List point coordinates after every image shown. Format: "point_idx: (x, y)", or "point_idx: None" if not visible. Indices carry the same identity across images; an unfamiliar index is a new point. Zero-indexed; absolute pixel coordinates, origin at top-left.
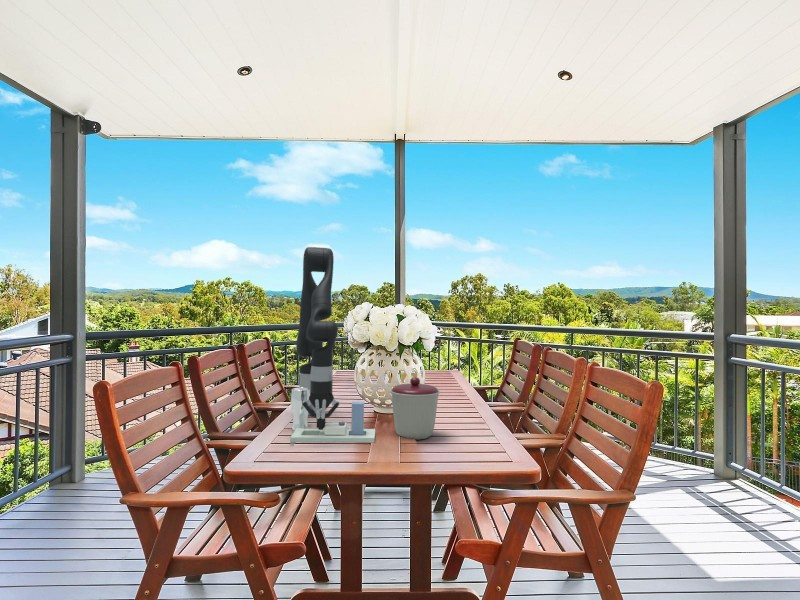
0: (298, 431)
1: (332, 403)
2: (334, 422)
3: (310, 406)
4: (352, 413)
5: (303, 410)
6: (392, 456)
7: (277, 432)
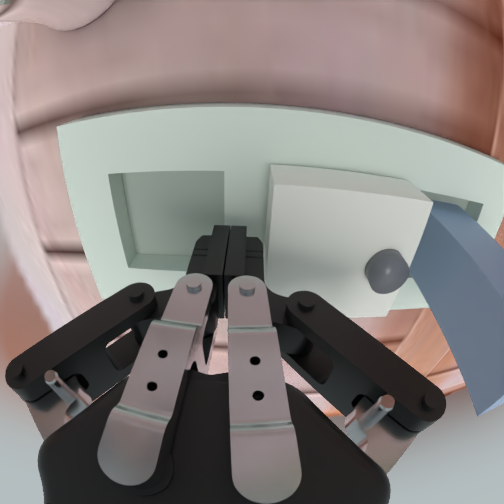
0: (89, 198)
1: (353, 441)
2: (344, 191)
3: (74, 353)
4: (459, 358)
5: (9, 2)
6: (434, 355)
7: (5, 88)
